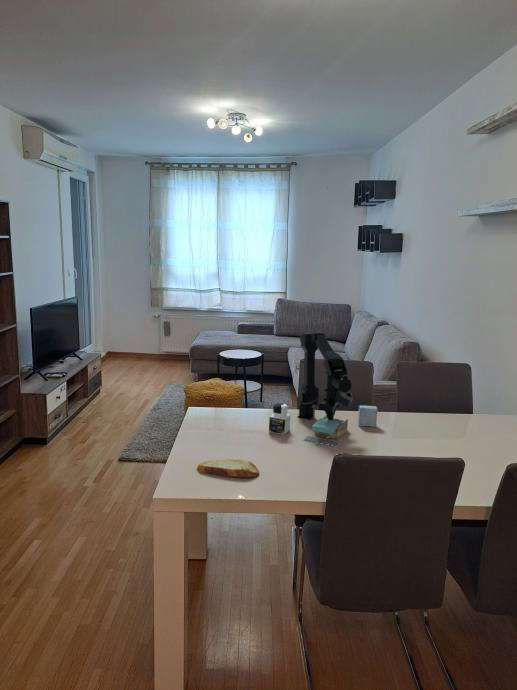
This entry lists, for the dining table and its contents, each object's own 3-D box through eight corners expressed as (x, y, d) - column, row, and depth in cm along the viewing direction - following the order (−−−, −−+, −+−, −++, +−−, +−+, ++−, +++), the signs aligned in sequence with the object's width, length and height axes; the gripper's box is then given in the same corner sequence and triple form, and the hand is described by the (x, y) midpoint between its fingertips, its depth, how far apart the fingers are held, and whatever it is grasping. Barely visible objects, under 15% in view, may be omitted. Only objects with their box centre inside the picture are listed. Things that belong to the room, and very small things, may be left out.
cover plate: (312, 430, 214) (312, 425, 214) (320, 422, 224) (320, 418, 223) (331, 434, 211) (331, 429, 210) (339, 425, 220) (339, 421, 220)
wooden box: (314, 435, 221) (315, 423, 220) (325, 426, 234) (325, 415, 233) (337, 439, 217) (338, 427, 216) (347, 430, 229) (347, 418, 229)
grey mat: (303, 440, 215) (303, 439, 215) (307, 436, 219) (307, 436, 219) (336, 446, 209) (336, 446, 209) (340, 442, 213) (340, 442, 213)
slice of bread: (192, 468, 184) (193, 458, 183) (235, 458, 194) (236, 449, 193) (219, 488, 169) (220, 477, 169) (264, 476, 180) (264, 465, 179)
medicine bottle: (268, 432, 223) (269, 405, 221) (274, 427, 229) (275, 401, 227) (284, 435, 220) (285, 407, 218) (289, 430, 227) (291, 403, 225)
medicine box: (375, 424, 239) (376, 406, 237) (376, 427, 234) (377, 409, 233) (357, 423, 239) (358, 405, 238) (358, 426, 235) (359, 407, 233)
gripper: (345, 394, 208) (342, 431, 211) (357, 384, 225) (355, 419, 228) (318, 390, 213) (316, 427, 216) (332, 380, 230) (330, 415, 232)
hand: (330, 421), depth 223 cm, fingers closed
